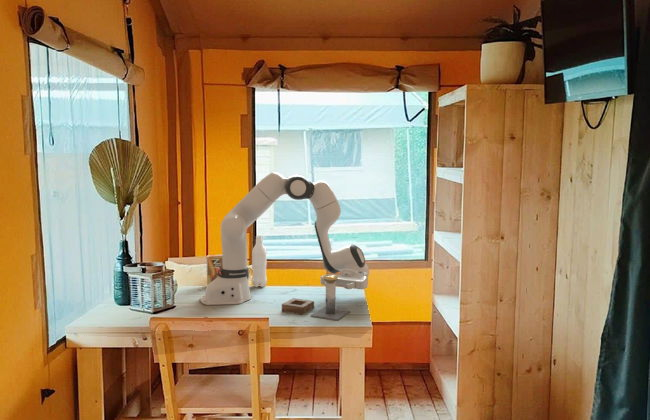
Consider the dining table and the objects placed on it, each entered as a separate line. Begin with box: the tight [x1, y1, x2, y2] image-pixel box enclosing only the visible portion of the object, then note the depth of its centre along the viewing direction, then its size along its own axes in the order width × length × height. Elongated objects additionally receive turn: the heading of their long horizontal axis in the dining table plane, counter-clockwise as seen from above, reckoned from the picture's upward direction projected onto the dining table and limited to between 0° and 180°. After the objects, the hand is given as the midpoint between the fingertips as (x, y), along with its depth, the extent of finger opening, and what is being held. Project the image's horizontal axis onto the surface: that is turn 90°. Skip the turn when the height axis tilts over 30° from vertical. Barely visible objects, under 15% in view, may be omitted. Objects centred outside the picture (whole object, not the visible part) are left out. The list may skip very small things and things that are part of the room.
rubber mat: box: [310, 306, 351, 322], centre depth 213 cm, size 12×12×1 cm
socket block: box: [281, 297, 315, 315], centre depth 220 cm, size 10×10×3 cm
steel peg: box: [324, 274, 338, 314], centre depth 213 cm, size 6×6×15 cm
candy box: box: [206, 254, 223, 286], centre depth 257 cm, size 9×4×15 cm, turn 111°
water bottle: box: [251, 235, 268, 288], centre depth 256 cm, size 7×7×25 cm
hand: (336, 285), depth 217 cm, fingers open, 8 cm apart
